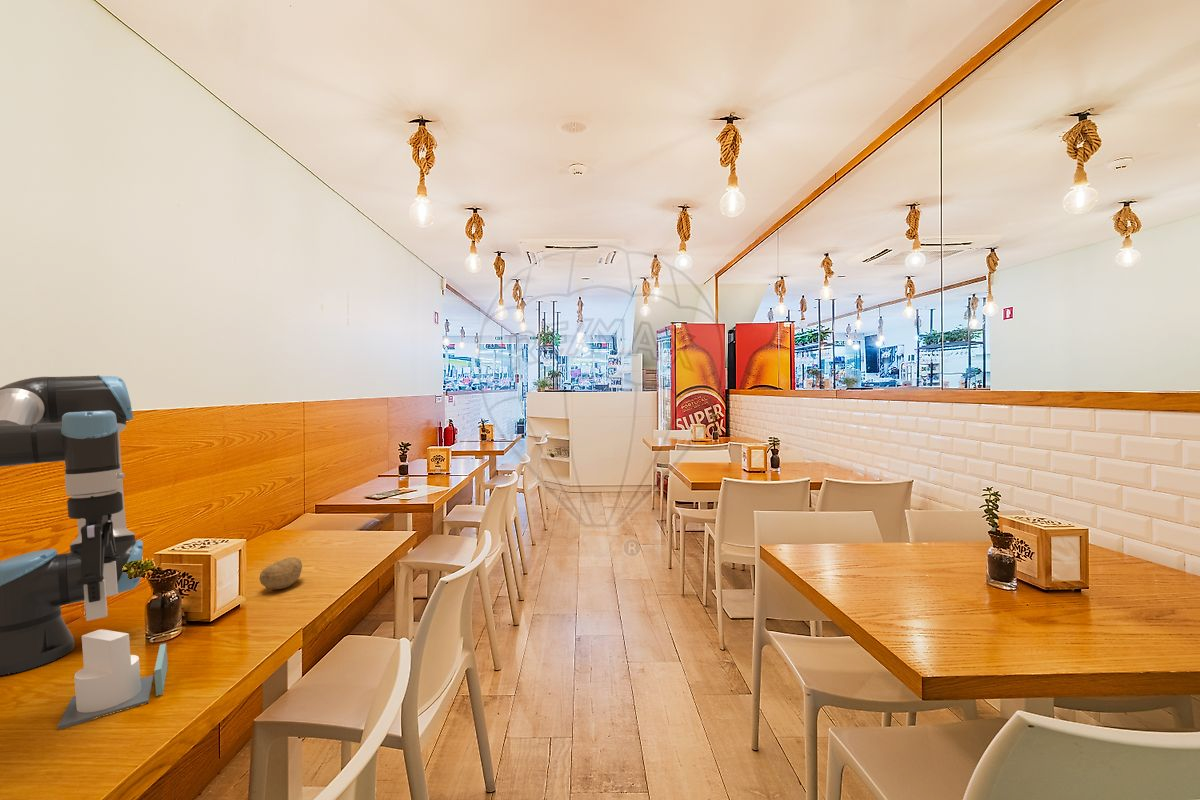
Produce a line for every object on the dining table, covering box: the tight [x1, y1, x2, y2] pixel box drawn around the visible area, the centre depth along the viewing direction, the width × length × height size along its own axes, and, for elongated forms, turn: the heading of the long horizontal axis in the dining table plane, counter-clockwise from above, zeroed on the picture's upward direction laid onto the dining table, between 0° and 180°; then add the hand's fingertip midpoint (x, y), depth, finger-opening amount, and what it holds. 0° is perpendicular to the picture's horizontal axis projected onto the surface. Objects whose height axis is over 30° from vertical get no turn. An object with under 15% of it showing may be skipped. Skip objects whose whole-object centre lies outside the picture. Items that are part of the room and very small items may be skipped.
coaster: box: [57, 674, 155, 730], centre depth 102 cm, size 12×12×1 cm
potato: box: [259, 557, 303, 590], centre depth 162 cm, size 10×14×8 cm
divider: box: [153, 643, 169, 697], centre depth 109 cm, size 1×14×5 cm, turn 35°
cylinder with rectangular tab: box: [73, 628, 141, 713], centre depth 102 cm, size 9×9×12 cm
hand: (103, 606), depth 102 cm, fingers open, 13 cm apart
